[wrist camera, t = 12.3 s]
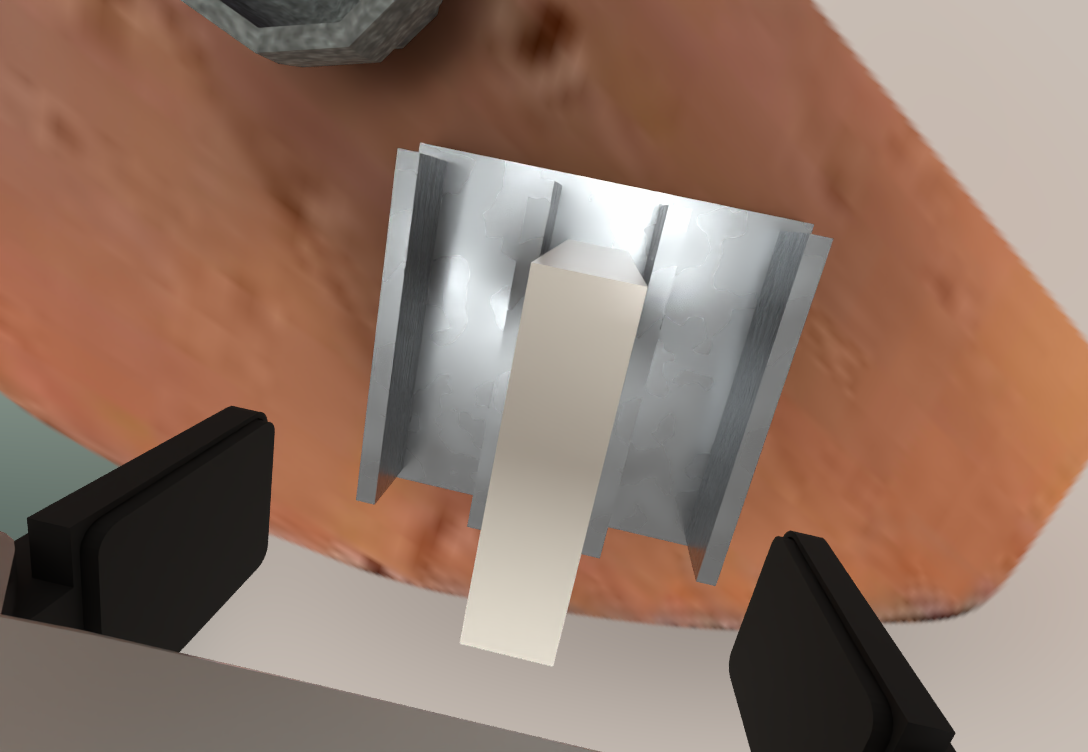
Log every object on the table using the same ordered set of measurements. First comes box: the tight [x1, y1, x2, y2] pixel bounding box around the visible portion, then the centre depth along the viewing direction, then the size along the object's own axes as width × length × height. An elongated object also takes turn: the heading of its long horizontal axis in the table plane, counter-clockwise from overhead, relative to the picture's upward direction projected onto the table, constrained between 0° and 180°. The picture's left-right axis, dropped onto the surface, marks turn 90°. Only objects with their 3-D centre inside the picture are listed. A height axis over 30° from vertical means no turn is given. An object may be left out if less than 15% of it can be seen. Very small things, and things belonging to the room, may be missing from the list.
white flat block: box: [460, 239, 648, 666], centre depth 19 cm, size 2×10×12 cm, turn 169°
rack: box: [356, 143, 833, 586], centre depth 24 cm, size 16×15×5 cm
